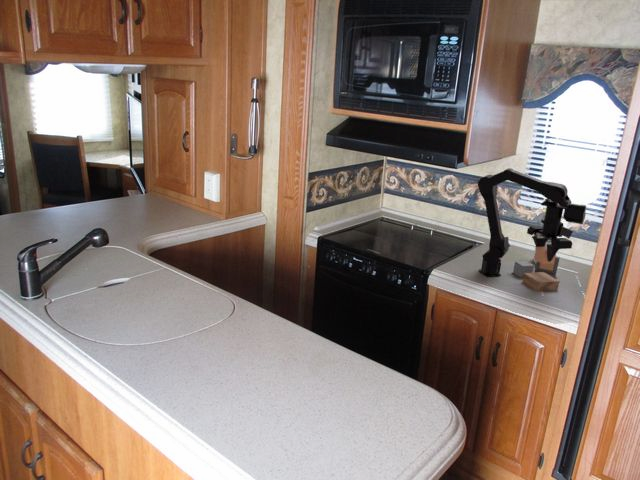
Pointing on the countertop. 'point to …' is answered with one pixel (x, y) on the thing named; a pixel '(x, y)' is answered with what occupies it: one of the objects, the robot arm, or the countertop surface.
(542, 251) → the terracotta cube
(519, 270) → the slate cube
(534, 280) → the base block
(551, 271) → the swatch sign
